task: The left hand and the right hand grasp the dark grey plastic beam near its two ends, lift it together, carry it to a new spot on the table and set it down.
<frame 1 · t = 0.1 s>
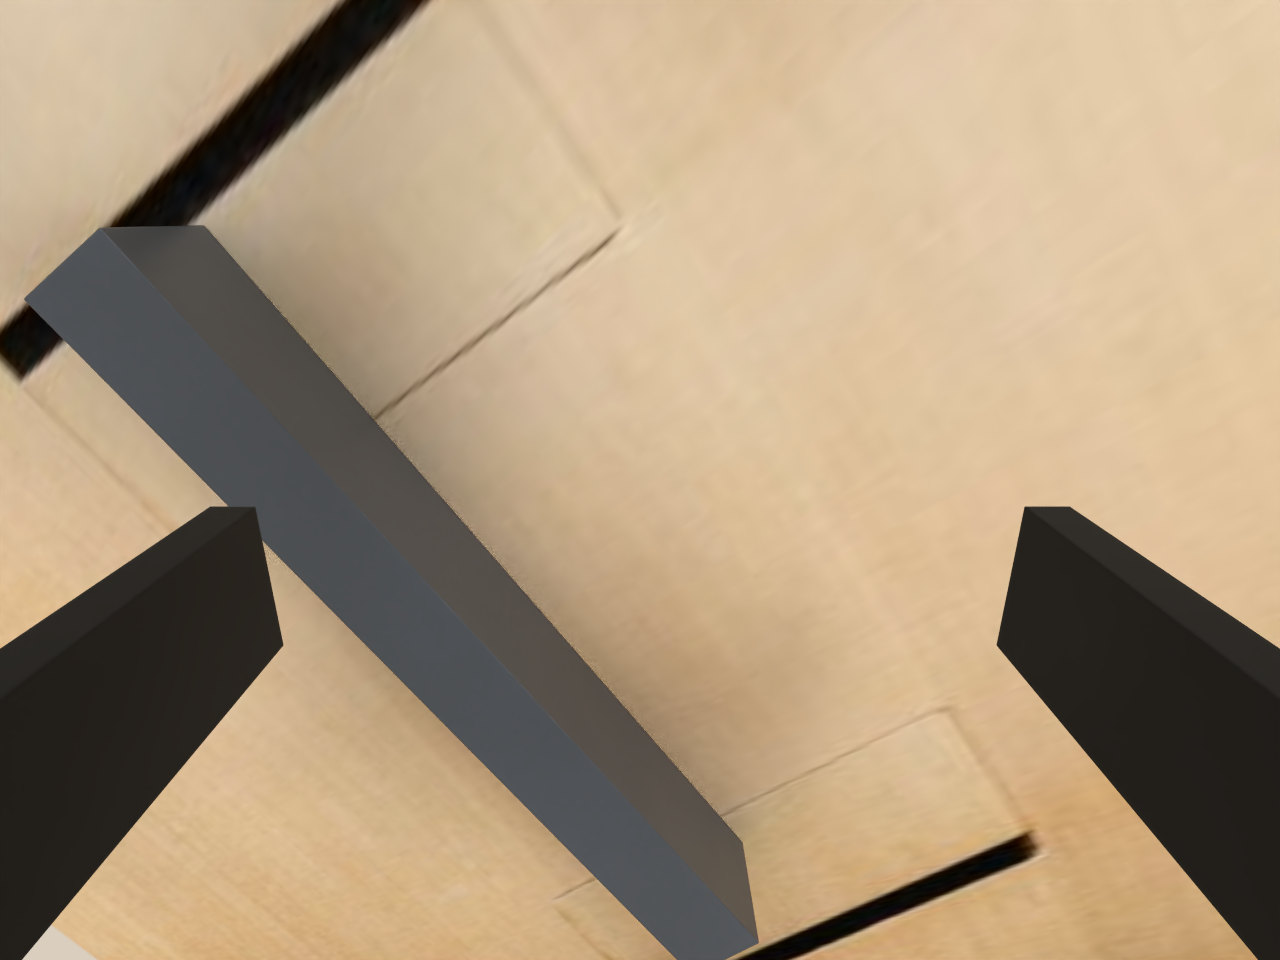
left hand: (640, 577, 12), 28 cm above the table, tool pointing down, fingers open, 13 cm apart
beam: (486, 605, 44), on the table
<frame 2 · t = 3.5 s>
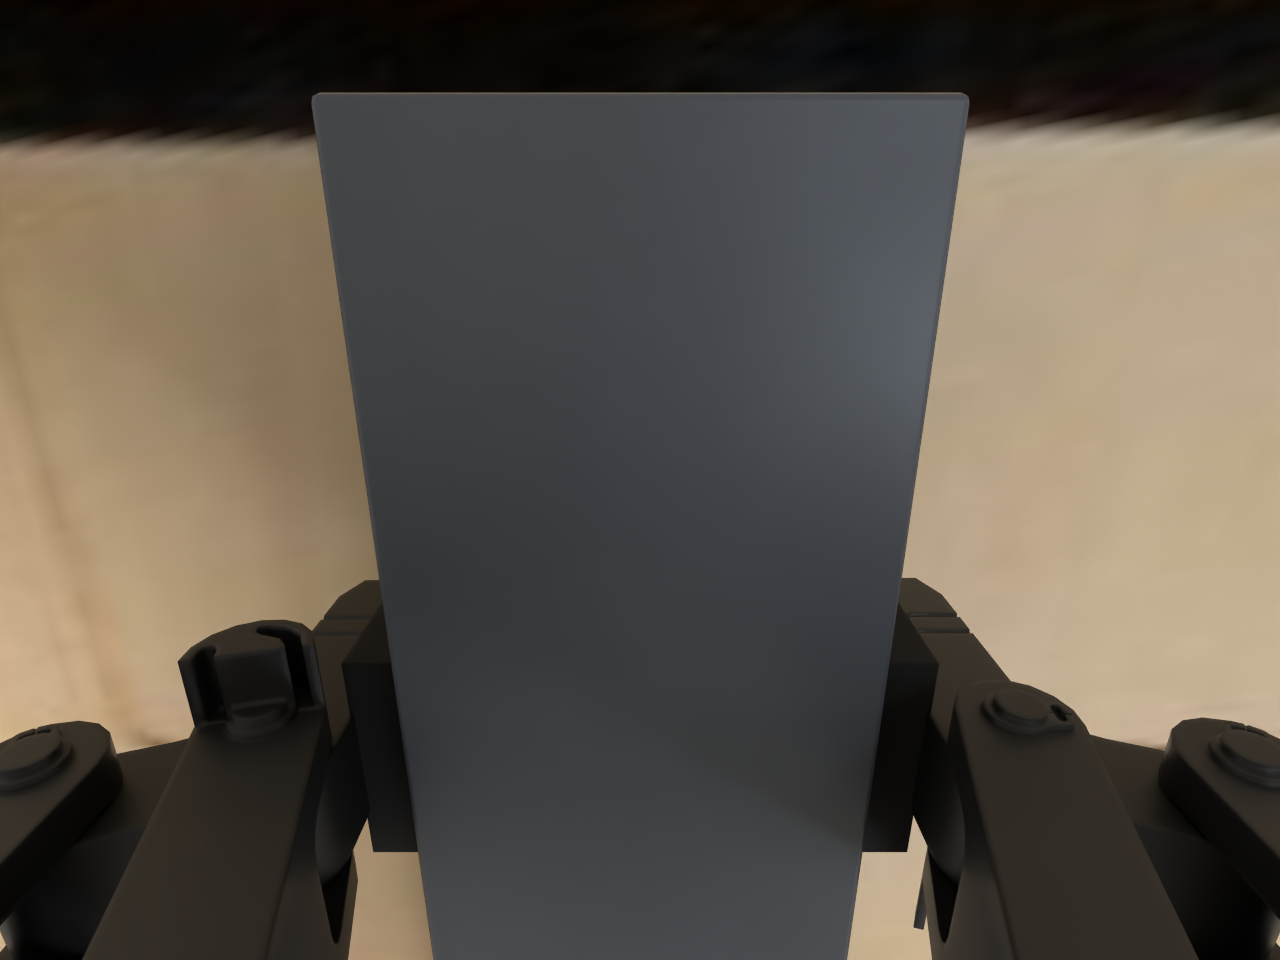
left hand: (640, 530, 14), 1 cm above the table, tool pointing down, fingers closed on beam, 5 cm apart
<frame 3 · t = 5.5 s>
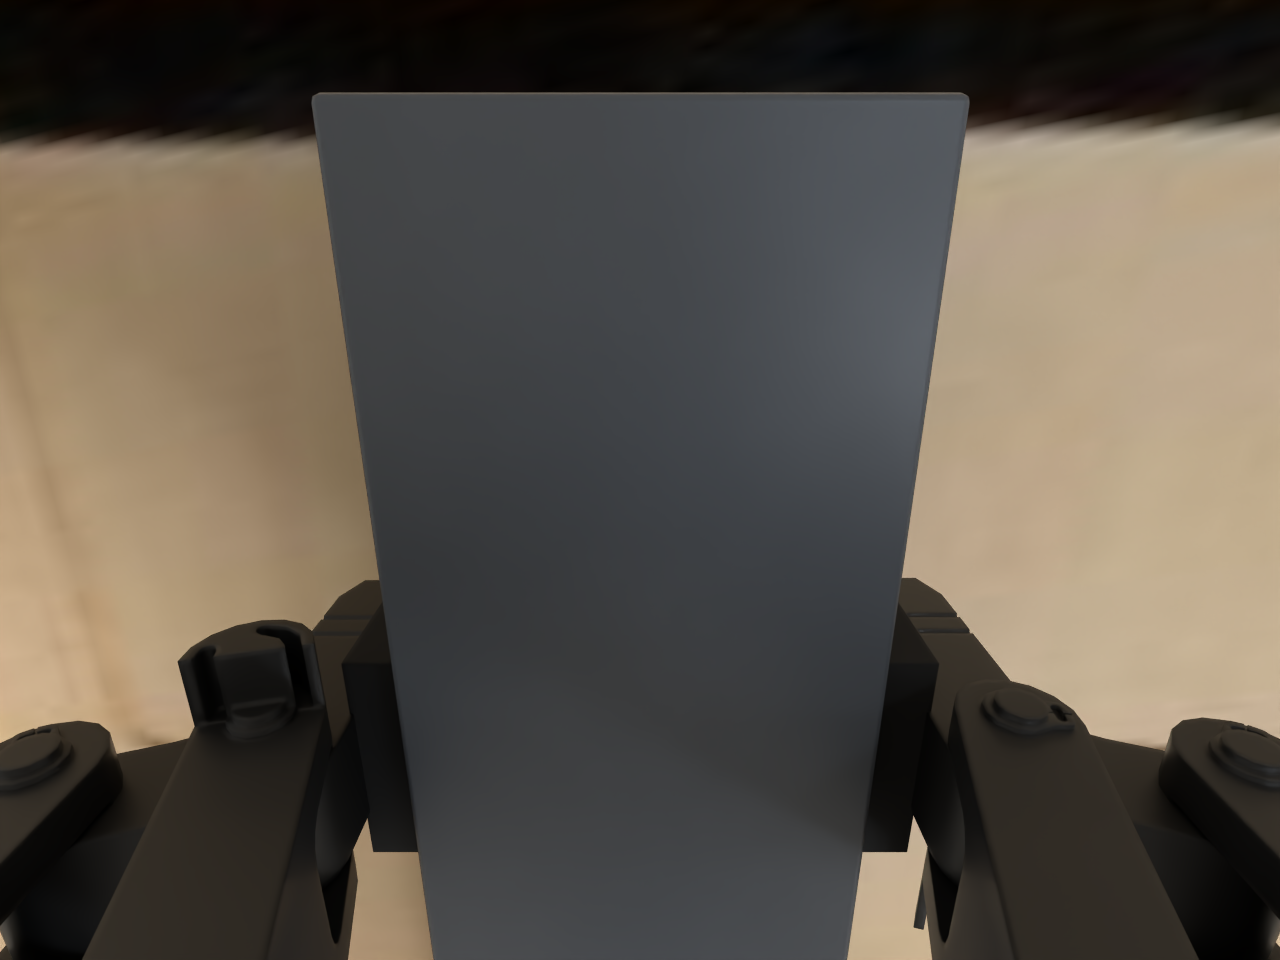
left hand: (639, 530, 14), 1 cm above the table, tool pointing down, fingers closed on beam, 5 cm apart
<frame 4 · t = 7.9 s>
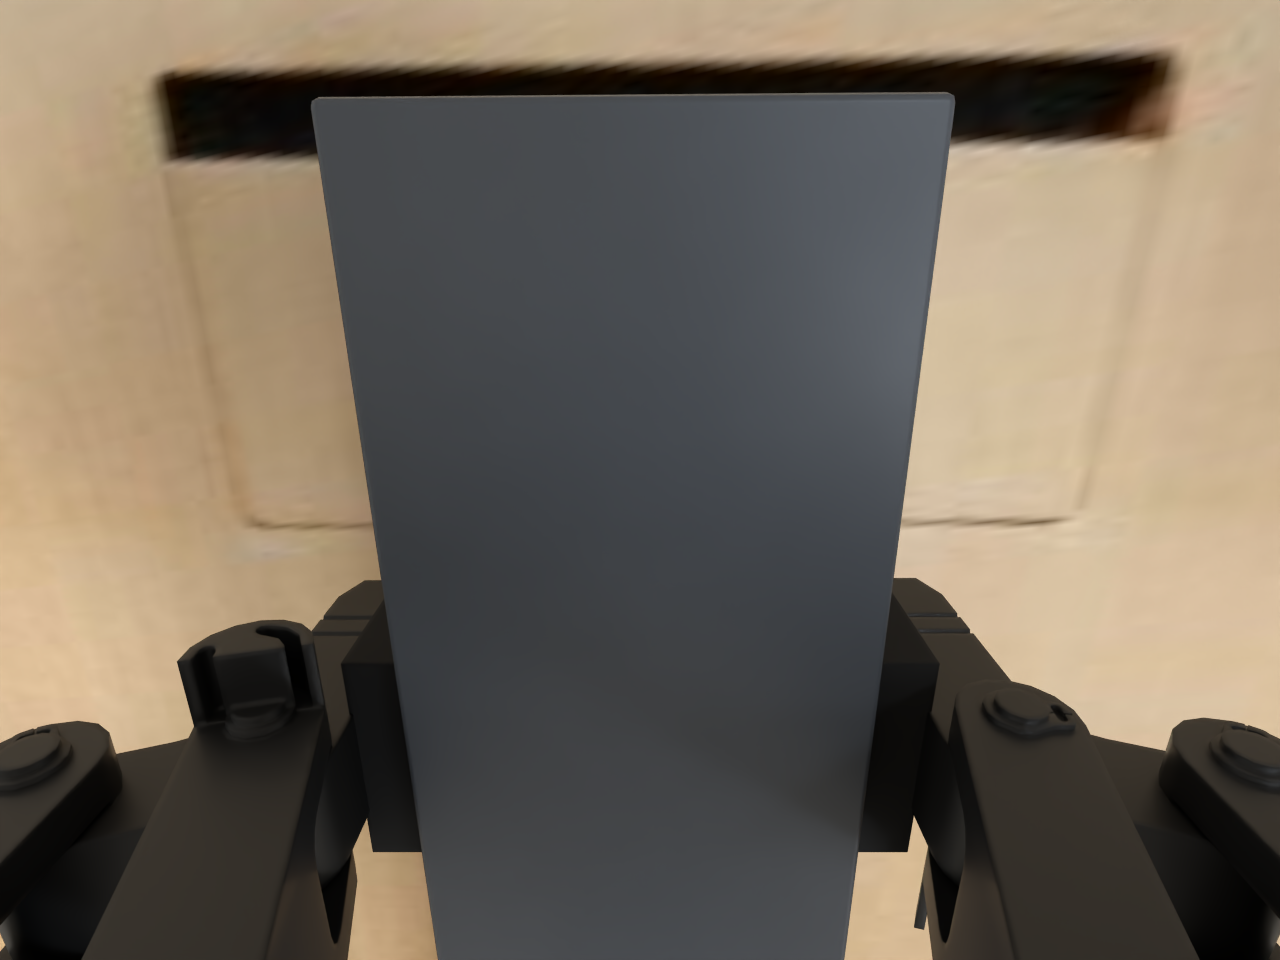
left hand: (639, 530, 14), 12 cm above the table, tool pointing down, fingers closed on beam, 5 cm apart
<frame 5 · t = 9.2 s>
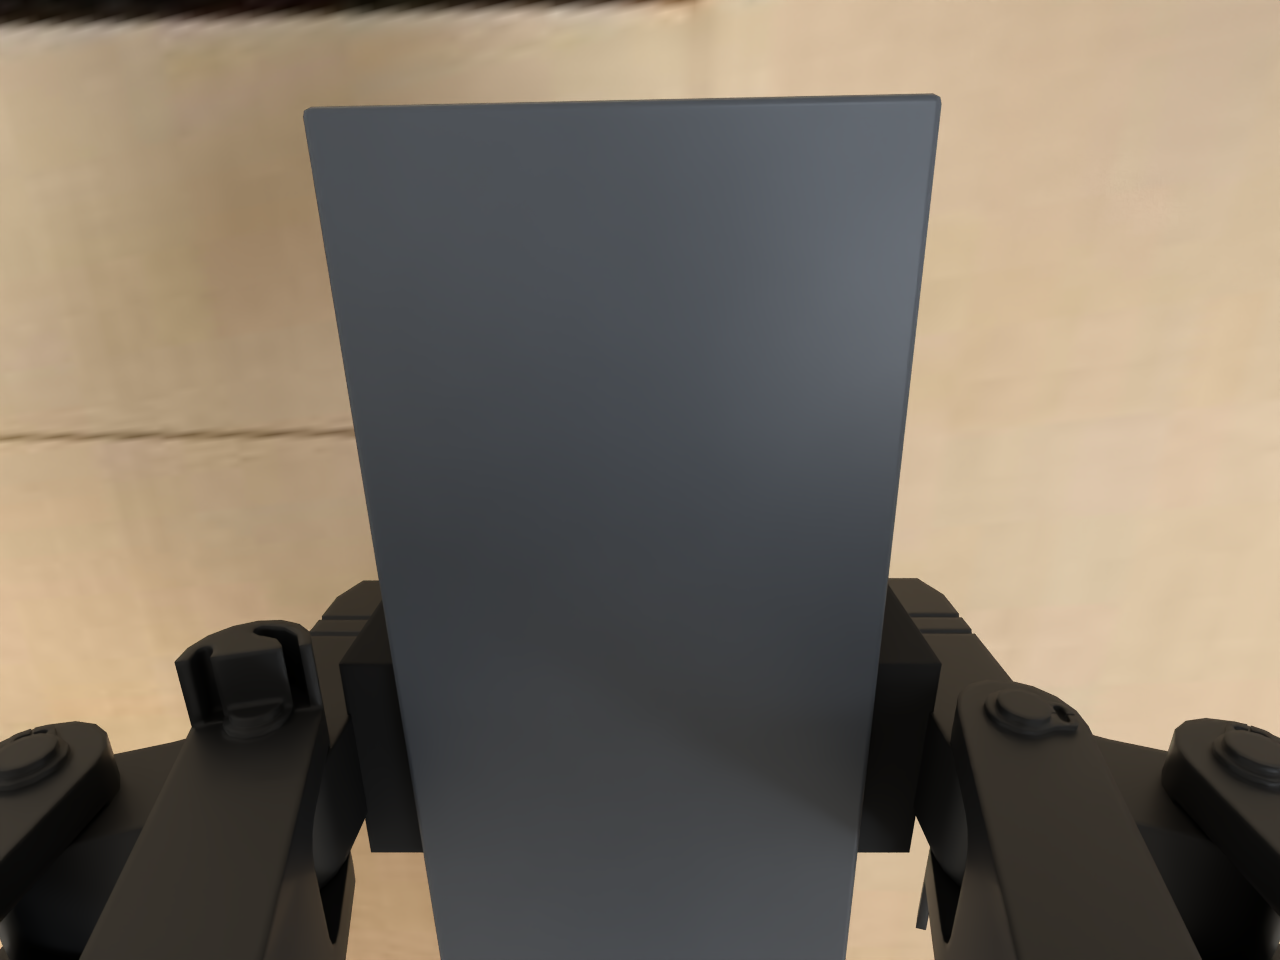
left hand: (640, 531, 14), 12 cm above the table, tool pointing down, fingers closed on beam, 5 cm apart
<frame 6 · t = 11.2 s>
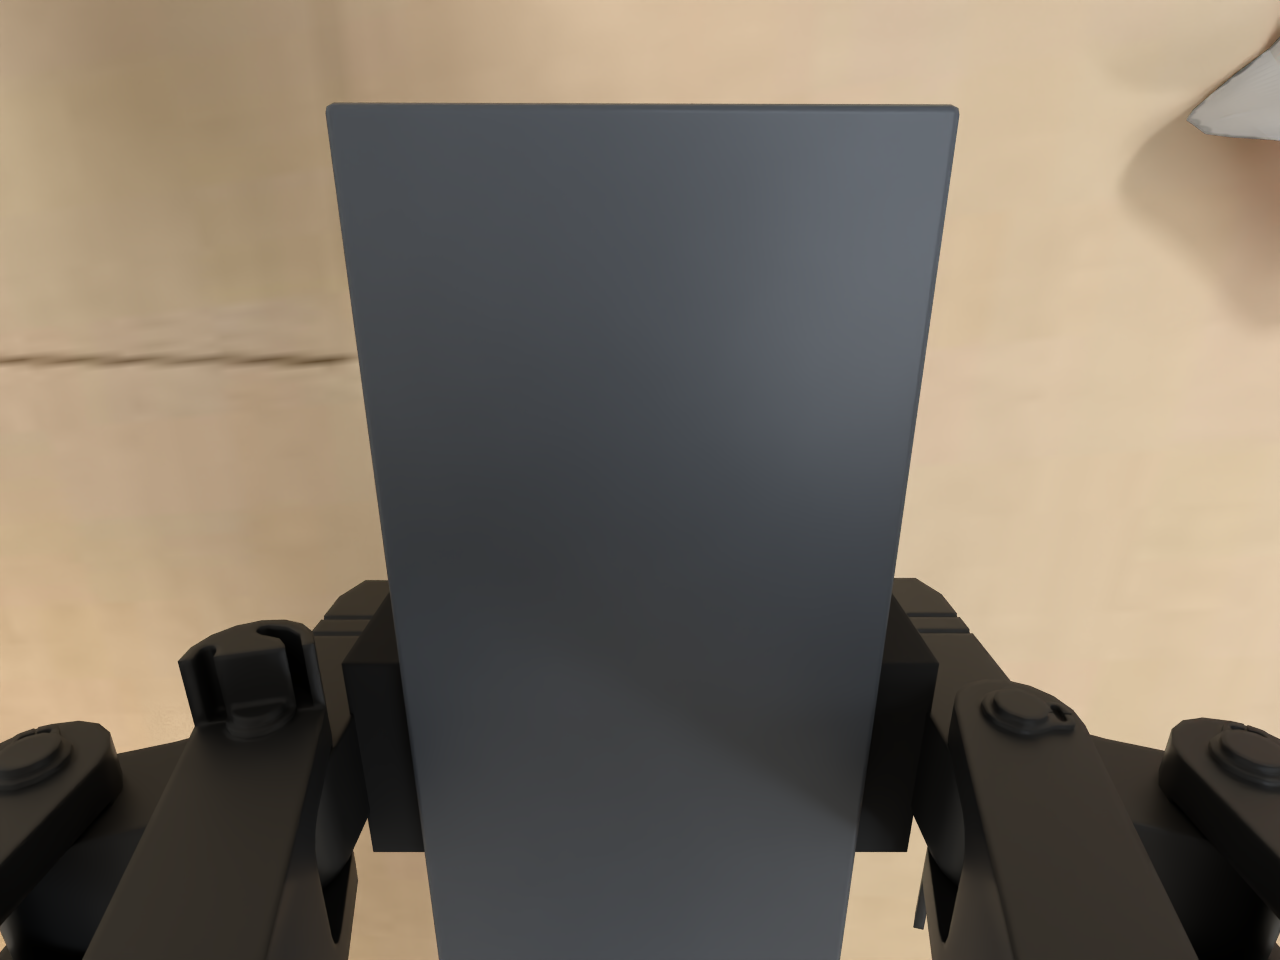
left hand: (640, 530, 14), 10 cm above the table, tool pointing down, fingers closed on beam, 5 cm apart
when the left hand's fingers open (2 cm above the table, at t = 12.8 s): beam drops 1 cm, on the table.
when the right hand's fingers open (4 cm above the table, at t = 13.0 s): beam stays where it is, on the table.
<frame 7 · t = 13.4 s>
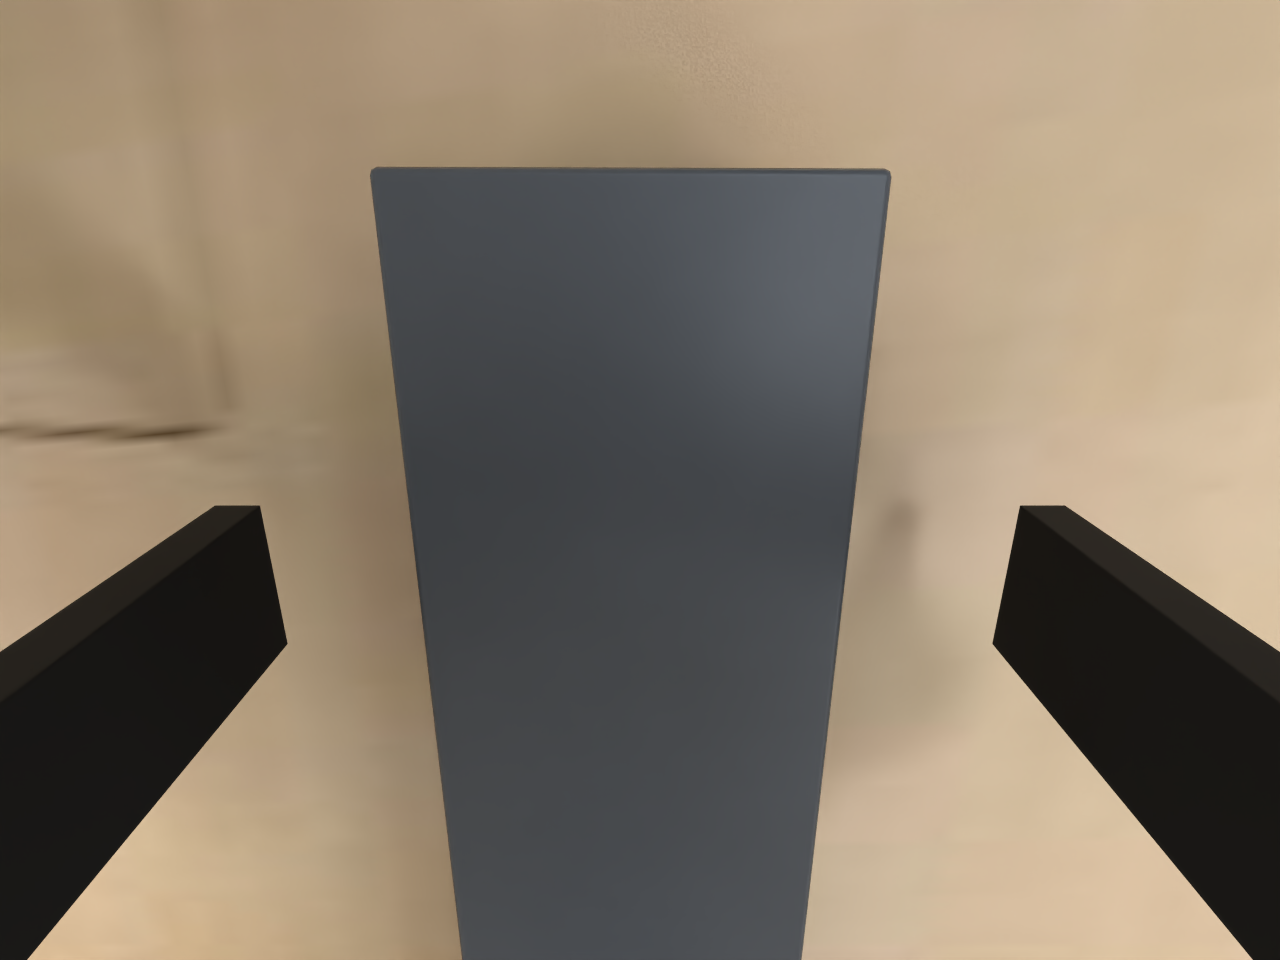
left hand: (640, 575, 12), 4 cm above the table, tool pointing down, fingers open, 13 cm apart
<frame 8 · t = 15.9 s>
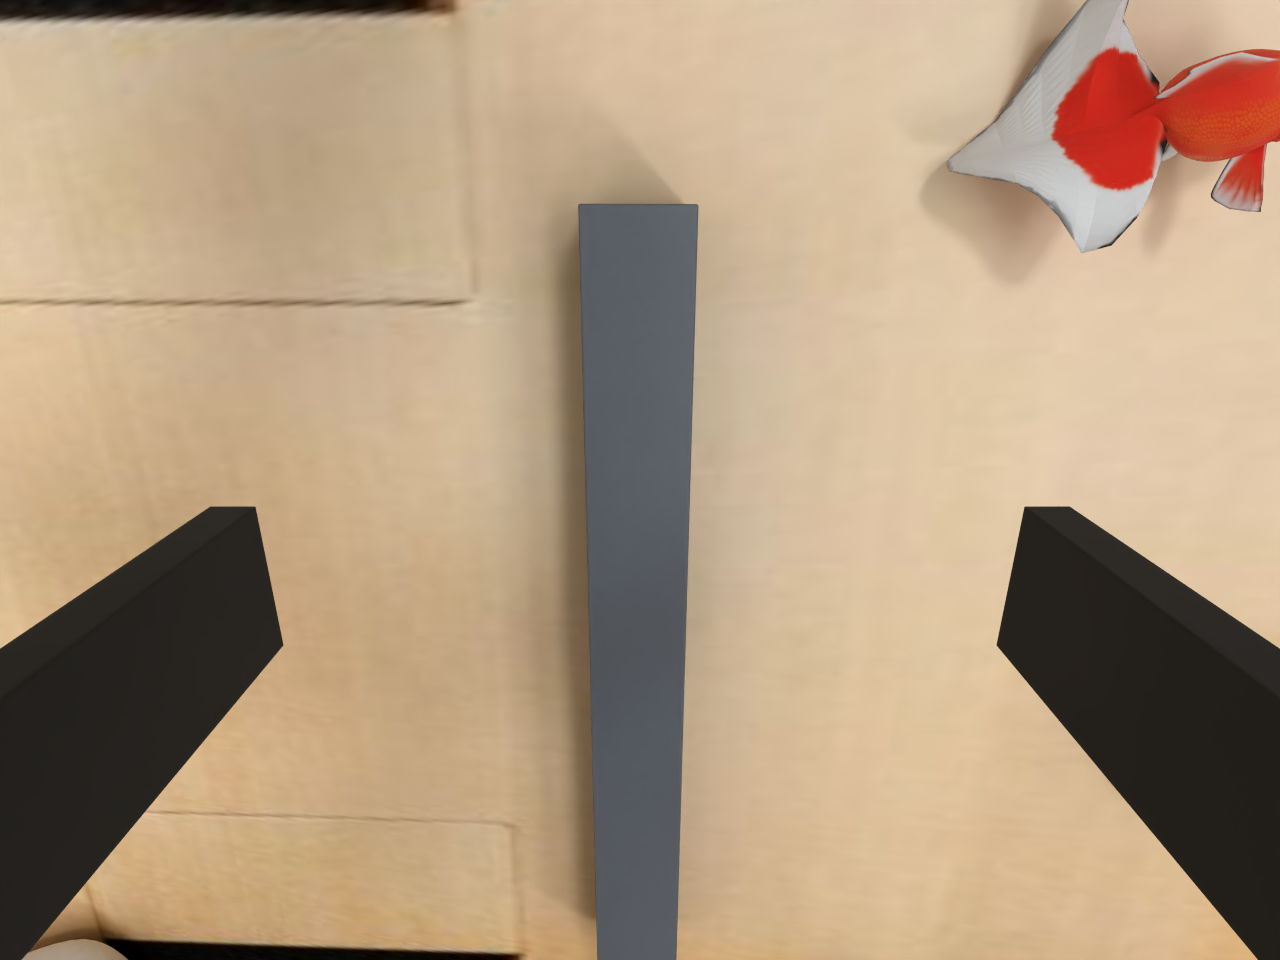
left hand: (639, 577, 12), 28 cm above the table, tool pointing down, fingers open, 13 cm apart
fish: (1087, 138, 36), on the table
beam: (637, 635, 46), on the table
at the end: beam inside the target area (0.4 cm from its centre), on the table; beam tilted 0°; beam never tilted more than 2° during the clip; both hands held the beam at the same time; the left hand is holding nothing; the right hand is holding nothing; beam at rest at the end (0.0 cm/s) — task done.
